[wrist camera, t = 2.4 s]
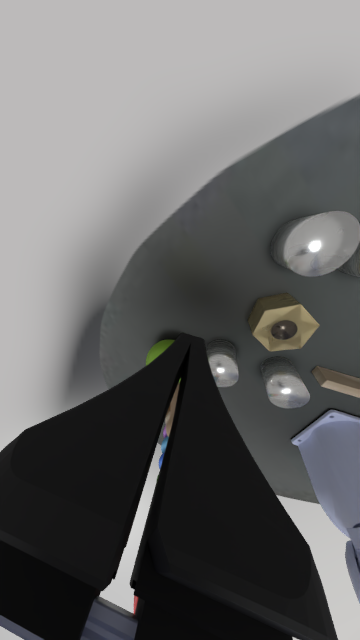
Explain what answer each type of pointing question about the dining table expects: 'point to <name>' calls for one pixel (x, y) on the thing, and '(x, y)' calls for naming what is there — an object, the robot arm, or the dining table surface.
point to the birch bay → (337, 381)
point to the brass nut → (281, 322)
